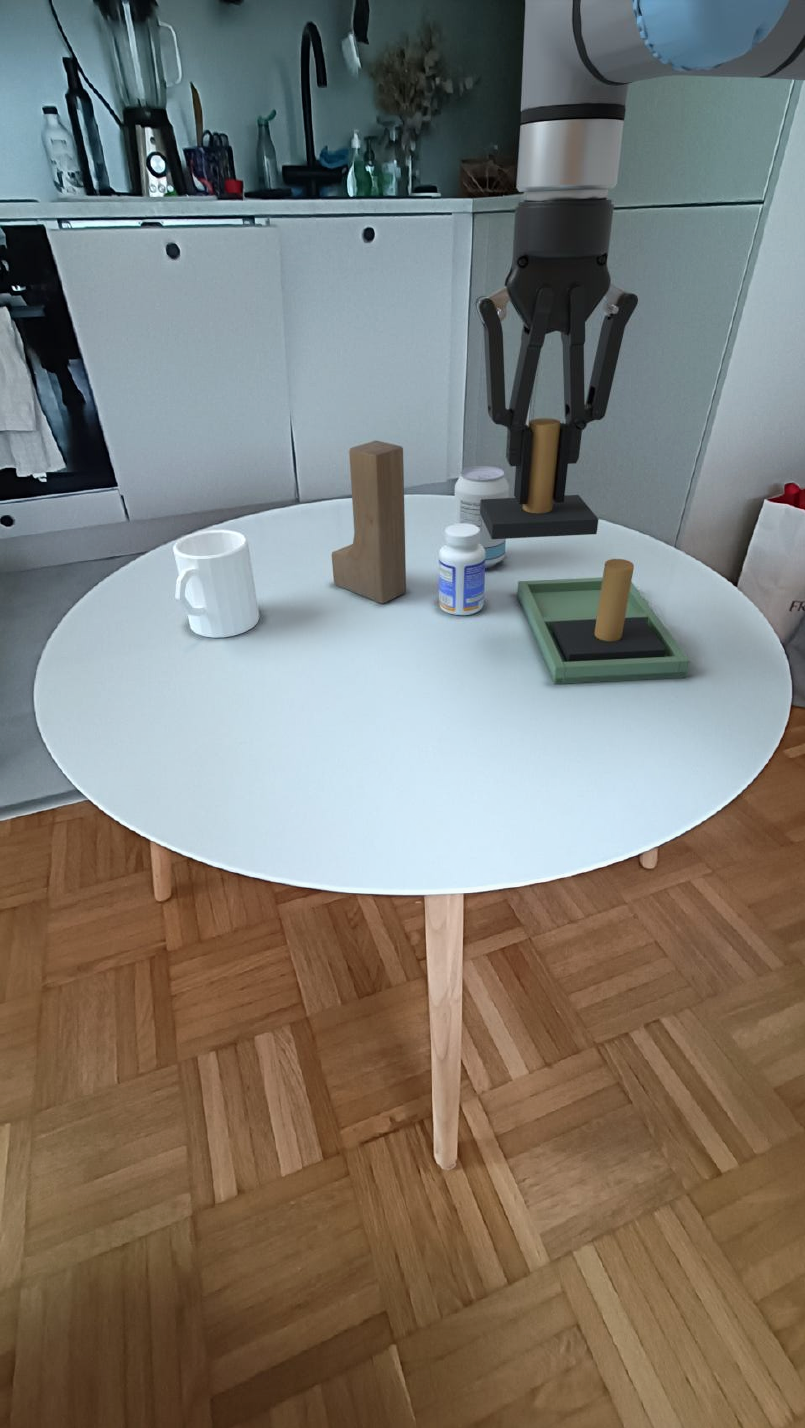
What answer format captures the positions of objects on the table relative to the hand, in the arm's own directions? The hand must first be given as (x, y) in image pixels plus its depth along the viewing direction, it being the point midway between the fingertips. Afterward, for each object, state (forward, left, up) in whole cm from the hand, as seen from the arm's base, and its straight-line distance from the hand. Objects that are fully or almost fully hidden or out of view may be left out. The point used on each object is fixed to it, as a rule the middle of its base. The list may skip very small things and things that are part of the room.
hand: (538, 498), depth 69 cm
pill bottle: (+11, +6, -17) cm, 21 cm away
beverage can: (+24, +2, -17) cm, 29 cm away
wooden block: (+17, +17, -17) cm, 29 cm away
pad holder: (+3, -8, -17) cm, 19 cm away
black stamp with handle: (-2, -8, -16) cm, 18 cm away
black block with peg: (0, 0, -3) cm, 3 cm away
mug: (+8, +35, -17) cm, 39 cm away
